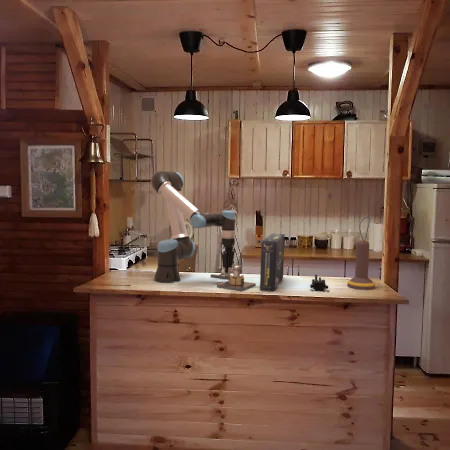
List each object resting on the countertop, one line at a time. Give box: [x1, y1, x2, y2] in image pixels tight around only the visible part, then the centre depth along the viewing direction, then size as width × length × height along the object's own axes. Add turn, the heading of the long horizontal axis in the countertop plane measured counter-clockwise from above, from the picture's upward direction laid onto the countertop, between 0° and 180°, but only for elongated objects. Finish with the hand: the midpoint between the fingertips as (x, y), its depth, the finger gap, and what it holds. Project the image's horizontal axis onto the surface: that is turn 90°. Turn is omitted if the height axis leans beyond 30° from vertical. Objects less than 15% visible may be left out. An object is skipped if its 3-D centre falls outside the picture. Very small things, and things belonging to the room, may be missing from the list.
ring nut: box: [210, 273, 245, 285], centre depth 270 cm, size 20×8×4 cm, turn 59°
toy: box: [309, 274, 329, 293], centre depth 274 cm, size 10×5×30 cm
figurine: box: [219, 266, 233, 276], centre depth 295 cm, size 12×9×15 cm
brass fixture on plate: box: [216, 264, 257, 292], centre depth 267 cm, size 16×16×12 cm
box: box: [259, 233, 286, 292], centre depth 274 cm, size 35×9×28 cm, turn 166°
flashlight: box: [347, 216, 376, 291], centre depth 271 cm, size 15×40×15 cm
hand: (227, 278), depth 276 cm, fingers closed
